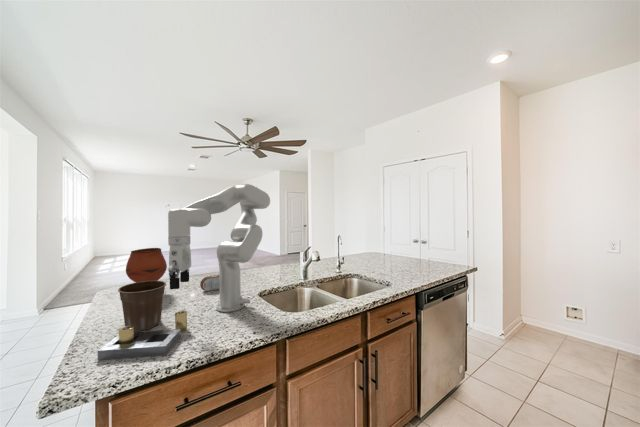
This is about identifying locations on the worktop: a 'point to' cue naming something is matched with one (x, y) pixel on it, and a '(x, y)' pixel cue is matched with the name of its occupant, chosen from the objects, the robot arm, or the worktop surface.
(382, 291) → the worktop surface
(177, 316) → the brass cylinder
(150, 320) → the plant pot
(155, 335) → the jig
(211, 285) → the tin
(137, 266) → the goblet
